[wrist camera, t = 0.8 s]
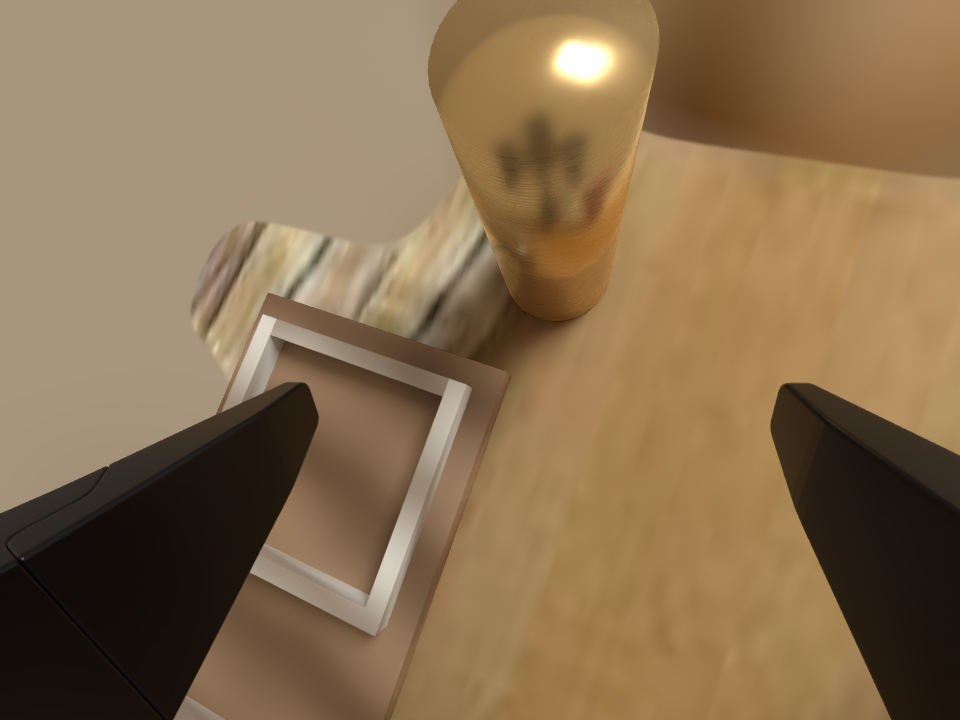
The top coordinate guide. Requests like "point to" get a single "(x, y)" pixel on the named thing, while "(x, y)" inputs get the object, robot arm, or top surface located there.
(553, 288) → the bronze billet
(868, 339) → the top surface
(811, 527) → the robot arm
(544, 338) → the top surface
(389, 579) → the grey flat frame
